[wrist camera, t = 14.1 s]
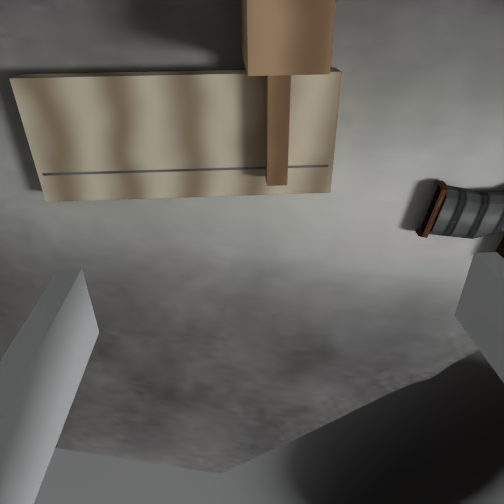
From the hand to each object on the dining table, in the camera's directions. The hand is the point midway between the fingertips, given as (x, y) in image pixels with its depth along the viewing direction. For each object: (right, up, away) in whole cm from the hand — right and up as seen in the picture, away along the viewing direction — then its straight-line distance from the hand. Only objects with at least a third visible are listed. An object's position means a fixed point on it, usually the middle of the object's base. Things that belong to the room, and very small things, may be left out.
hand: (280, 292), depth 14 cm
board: (-8, +14, +28) cm, 32 cm away
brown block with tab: (+1, +17, +27) cm, 32 cm away
